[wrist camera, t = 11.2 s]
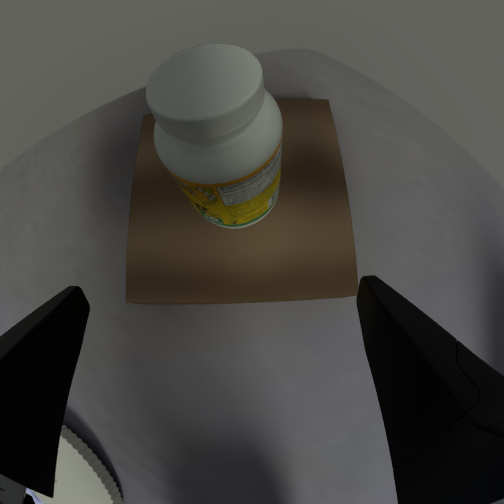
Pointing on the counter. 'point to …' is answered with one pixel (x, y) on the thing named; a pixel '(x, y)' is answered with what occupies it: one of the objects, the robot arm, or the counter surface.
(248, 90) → the supplement bottle
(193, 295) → the walnut plinth
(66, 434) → the plastic lid
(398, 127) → the counter surface
